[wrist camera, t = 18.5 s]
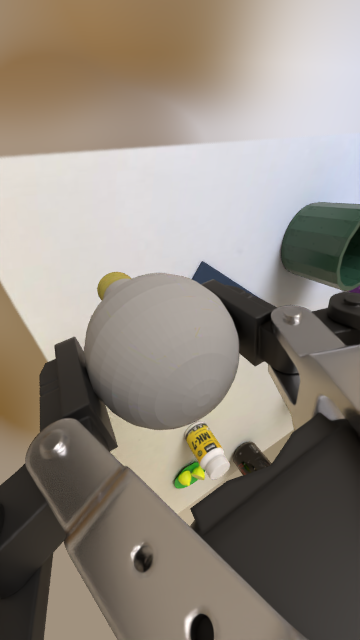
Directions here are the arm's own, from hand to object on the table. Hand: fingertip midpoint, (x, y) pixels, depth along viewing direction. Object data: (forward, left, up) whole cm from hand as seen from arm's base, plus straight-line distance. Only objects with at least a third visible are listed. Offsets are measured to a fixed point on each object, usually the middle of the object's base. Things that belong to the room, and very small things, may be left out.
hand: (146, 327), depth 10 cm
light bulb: (0, 0, -6) cm, 6 cm away
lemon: (+37, -34, -16) cm, 53 cm away
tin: (+27, +16, -16) cm, 35 cm away
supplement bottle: (+30, -22, -16) cm, 41 cm away
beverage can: (+51, -28, -16) cm, 61 cm away
